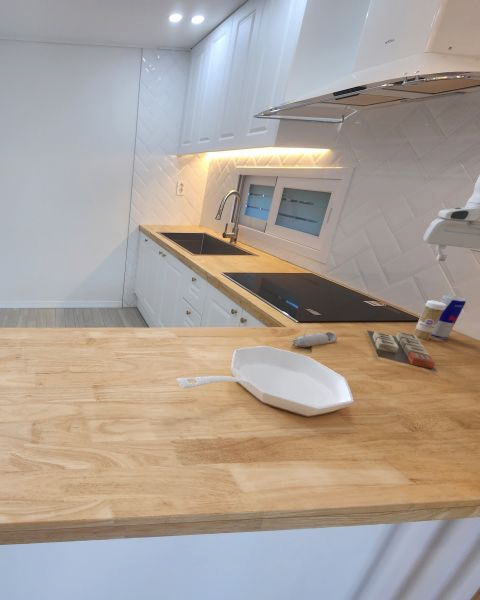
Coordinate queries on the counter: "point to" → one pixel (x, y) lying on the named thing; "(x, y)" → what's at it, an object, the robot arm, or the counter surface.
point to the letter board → (398, 356)
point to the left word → (385, 342)
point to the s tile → (421, 360)
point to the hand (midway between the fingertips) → (462, 263)
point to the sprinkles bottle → (429, 319)
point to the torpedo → (314, 339)
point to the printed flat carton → (411, 343)
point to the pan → (284, 381)
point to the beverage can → (448, 316)
